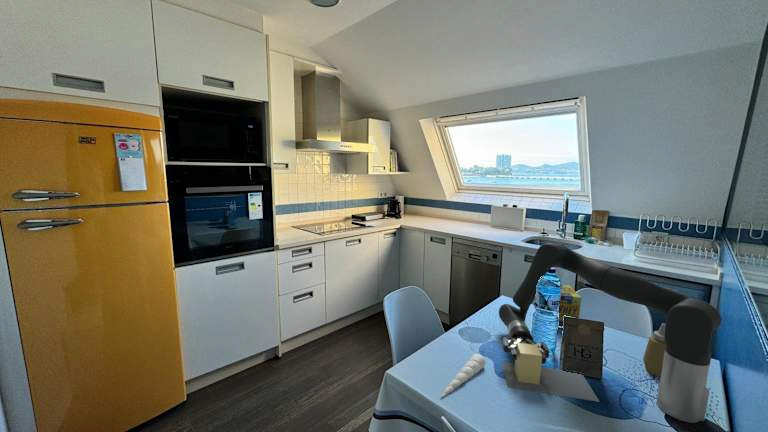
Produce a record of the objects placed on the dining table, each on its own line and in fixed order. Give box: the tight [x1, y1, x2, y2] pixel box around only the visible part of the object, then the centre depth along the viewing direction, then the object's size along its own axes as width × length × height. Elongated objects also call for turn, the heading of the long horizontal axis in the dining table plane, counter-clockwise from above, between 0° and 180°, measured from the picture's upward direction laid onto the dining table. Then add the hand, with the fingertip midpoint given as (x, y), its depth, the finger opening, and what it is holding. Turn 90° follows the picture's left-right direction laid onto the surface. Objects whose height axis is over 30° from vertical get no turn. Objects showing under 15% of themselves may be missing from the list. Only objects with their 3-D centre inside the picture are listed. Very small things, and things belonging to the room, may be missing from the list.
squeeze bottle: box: [642, 323, 666, 378], centre depth 107 cm, size 8×8×18 cm
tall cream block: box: [514, 343, 542, 384], centre depth 104 cm, size 6×6×10 cm
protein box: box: [559, 284, 582, 327], centre depth 144 cm, size 10×15×16 cm
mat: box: [501, 361, 601, 403], centre depth 103 cm, size 26×14×1 cm, turn 77°
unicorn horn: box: [440, 353, 486, 399], centre depth 103 cm, size 5×24×5 cm, turn 131°
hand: (529, 359), depth 101 cm, fingers open, 8 cm apart
